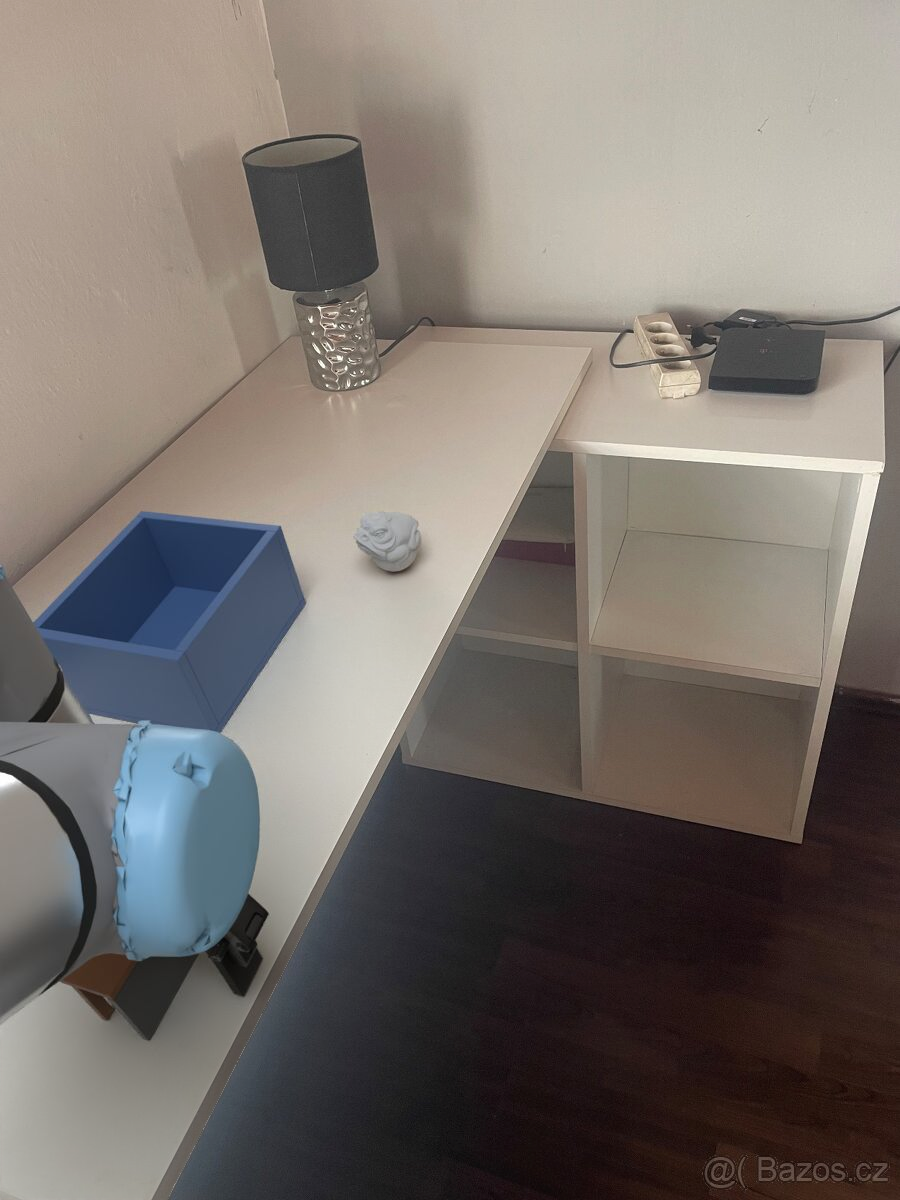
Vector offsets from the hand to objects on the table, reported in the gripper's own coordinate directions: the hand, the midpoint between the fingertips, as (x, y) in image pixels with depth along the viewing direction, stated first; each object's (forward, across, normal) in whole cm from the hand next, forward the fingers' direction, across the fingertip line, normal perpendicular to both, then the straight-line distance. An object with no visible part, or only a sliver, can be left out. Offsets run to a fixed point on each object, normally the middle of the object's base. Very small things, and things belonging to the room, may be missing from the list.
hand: (169, 951), depth 60 cm
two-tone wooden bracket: (0, 0, 0) cm, 0 cm away
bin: (0, +15, -27) cm, 31 cm away
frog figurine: (+1, 0, -43) cm, 43 cm away
